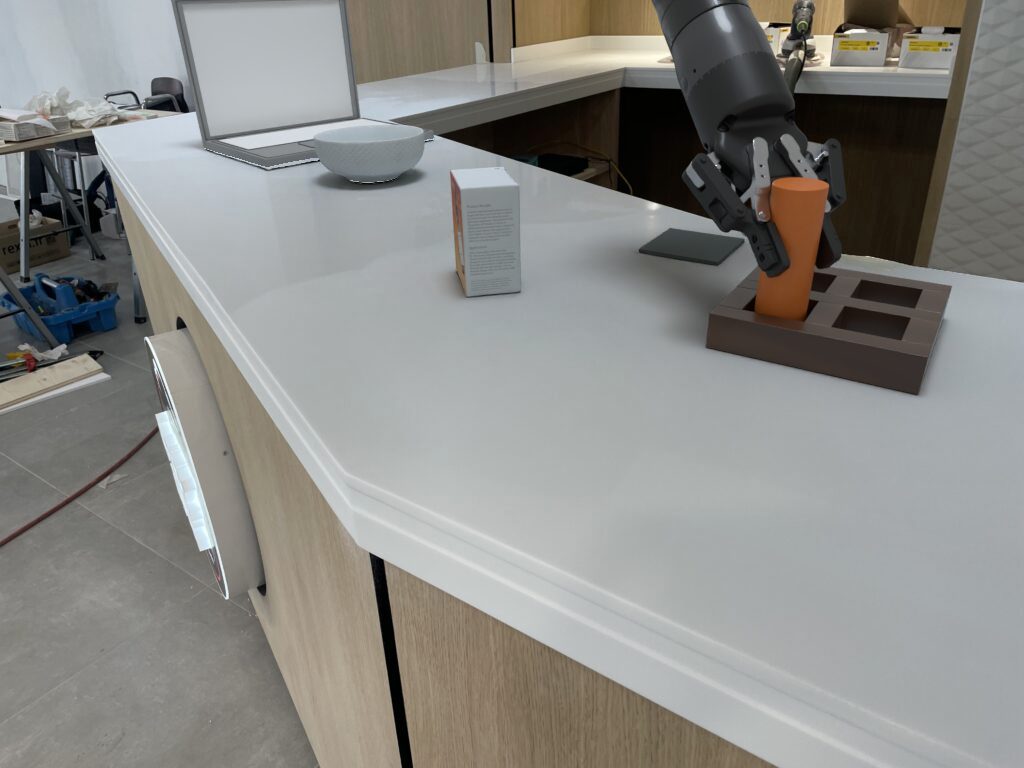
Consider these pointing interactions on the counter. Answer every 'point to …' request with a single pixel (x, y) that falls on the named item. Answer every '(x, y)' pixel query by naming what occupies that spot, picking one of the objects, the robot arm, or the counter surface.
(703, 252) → the mat
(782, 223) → the peg
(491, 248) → the small box
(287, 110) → the laptop
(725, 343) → the peg board
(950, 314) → the counter surface
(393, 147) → the cereal bowl
